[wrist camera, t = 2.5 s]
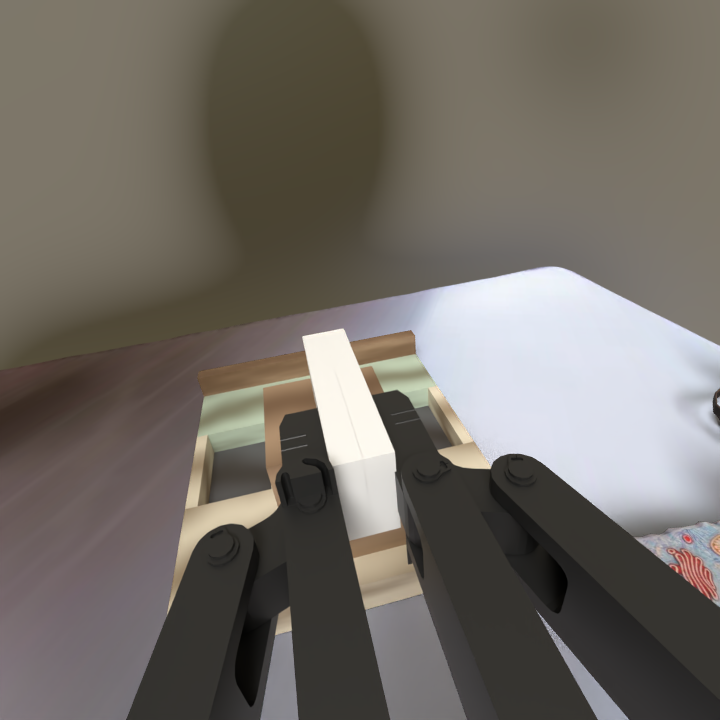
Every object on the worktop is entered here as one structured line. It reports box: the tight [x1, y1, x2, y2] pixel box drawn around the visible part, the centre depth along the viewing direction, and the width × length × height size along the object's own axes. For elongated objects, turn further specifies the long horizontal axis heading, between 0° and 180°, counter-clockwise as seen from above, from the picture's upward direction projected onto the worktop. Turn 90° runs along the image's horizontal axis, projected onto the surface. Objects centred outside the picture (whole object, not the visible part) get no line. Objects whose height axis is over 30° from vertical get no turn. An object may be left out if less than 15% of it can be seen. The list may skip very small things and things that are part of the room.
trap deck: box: [167, 330, 491, 635], centre depth 39 cm, size 28×25×6 cm
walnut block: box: [263, 366, 406, 558], centre depth 30 cm, size 8×8×10 cm
